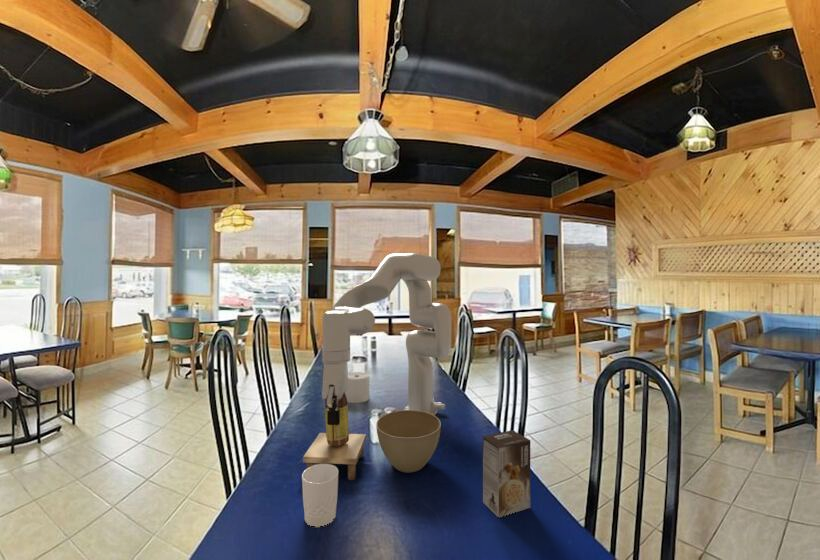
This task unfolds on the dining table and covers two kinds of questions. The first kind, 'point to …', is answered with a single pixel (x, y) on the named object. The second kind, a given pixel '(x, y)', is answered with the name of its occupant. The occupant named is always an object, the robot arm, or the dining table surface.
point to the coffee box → (506, 473)
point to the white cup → (320, 494)
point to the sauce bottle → (340, 432)
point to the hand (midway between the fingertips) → (337, 418)
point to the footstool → (336, 452)
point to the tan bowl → (408, 438)
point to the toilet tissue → (357, 387)
